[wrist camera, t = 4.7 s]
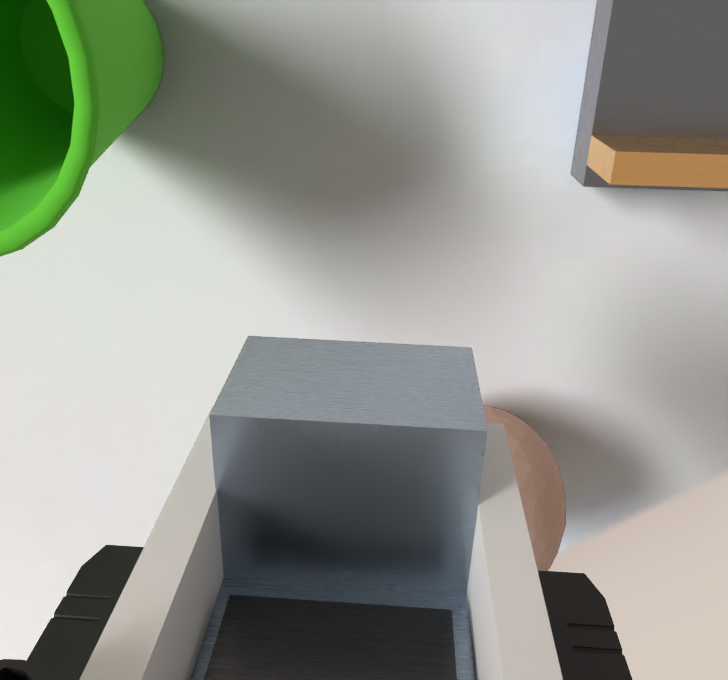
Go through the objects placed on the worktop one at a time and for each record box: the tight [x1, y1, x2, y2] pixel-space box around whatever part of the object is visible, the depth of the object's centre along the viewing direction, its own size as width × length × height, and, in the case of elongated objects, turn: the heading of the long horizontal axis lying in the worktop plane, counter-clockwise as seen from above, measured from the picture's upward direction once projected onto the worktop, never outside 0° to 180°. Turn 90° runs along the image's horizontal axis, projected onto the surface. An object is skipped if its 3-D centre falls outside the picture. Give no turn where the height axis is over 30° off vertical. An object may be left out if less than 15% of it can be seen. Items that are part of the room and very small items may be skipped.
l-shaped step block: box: [190, 336, 488, 680], centre depth 11 cm, size 6×4×8 cm
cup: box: [0, 0, 164, 256], centre depth 20 cm, size 9×9×11 cm
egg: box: [483, 406, 566, 571], centre depth 27 cm, size 7×7×9 cm
